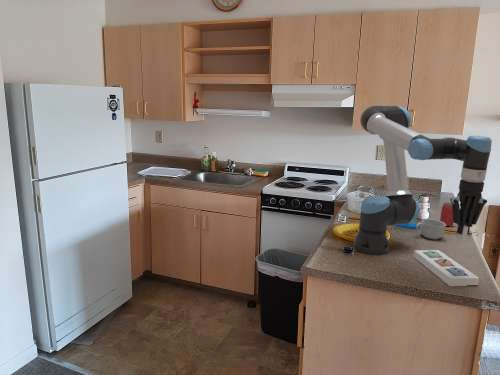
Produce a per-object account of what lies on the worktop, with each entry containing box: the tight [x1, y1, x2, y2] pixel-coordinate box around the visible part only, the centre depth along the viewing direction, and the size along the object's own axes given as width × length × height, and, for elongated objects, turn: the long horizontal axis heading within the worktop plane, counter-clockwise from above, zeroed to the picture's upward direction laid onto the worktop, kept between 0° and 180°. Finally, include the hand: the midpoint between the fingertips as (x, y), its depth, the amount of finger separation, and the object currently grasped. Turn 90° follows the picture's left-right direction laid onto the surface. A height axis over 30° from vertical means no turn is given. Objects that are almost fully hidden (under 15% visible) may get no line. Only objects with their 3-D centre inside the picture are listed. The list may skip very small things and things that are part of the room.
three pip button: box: [437, 259, 452, 267], centre depth 153 cm, size 5×5×3 cm
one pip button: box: [426, 251, 440, 258], centre depth 161 cm, size 5×5×3 cm
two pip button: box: [449, 267, 465, 276], centre depth 145 cm, size 5×5×3 cm
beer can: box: [439, 202, 455, 227], centre depth 207 cm, size 7×7×12 cm
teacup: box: [415, 218, 446, 240], centre depth 189 cm, size 14×11×8 cm
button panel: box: [413, 249, 480, 287], centre depth 153 cm, size 11×26×3 cm, turn 6°
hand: (461, 242), depth 142 cm, fingers closed
